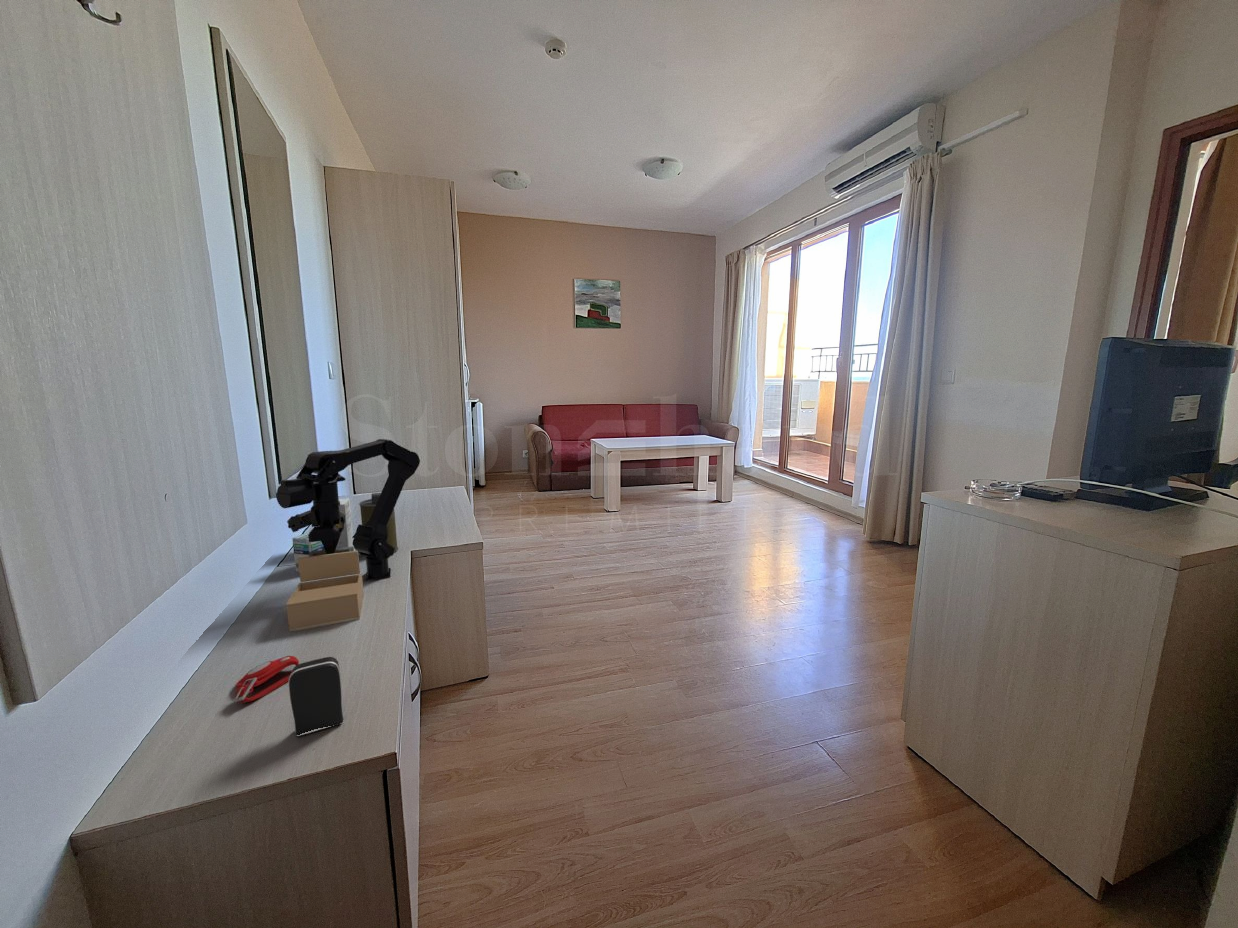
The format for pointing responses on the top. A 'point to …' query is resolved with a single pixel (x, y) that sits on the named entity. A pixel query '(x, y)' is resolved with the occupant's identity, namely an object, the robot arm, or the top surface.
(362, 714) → the top surface
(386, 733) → the top surface
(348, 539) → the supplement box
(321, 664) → the battery charger
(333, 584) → the kraft carton
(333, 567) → the carton flap
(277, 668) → the tracker holder
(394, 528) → the canister
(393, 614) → the top surface
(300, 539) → the light bulb box
